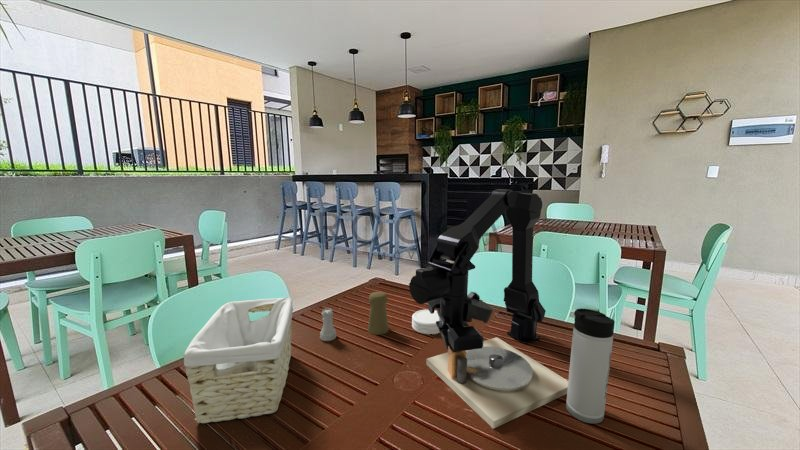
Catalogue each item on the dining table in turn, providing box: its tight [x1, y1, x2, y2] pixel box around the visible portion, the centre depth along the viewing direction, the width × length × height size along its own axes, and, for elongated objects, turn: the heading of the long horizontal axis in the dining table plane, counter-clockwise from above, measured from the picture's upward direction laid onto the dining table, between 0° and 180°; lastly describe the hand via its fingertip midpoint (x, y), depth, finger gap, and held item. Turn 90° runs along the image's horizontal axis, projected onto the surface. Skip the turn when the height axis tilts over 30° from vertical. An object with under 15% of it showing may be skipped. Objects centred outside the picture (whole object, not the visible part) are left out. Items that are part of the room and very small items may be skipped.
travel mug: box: [565, 308, 616, 425], centre depth 60 cm, size 6×7×20 cm
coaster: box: [411, 309, 440, 335], centre depth 96 cm, size 10×10×4 cm
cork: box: [367, 291, 390, 336], centre depth 93 cm, size 6×6×11 cm
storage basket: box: [183, 296, 294, 424], centre depth 69 cm, size 24×16×15 cm
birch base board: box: [426, 336, 569, 430], centre depth 72 cm, size 22×22×6 cm
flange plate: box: [447, 345, 533, 392], centre depth 72 cm, size 18×15×6 cm
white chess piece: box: [319, 307, 337, 342], centre depth 89 cm, size 4×4×8 cm
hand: (451, 355), depth 74 cm, fingers closed
